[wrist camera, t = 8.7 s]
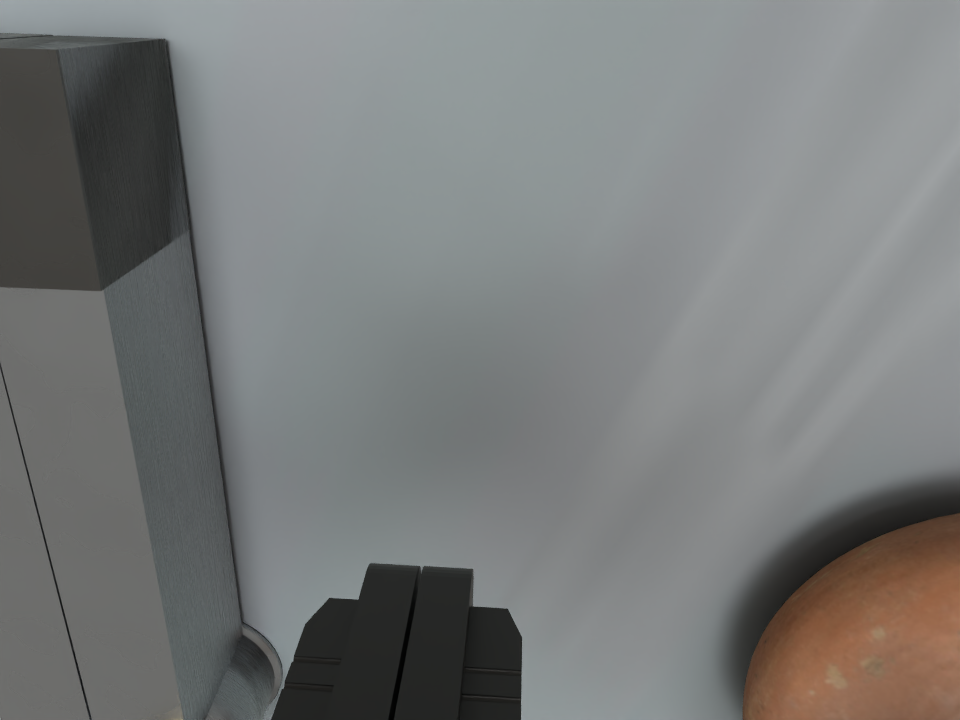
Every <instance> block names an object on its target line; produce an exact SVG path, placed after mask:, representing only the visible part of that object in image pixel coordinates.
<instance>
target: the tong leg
mask: <svg viewBox="0 0 960 720" xmlns="http://www.w3.org/2000/svg"><path fill="white" fill-rule="evenodd" d="M189 230H190V223H189V216H188V208H187V201H186V193H185V186H184V178H183V171H182V163H181V156H180V148H179V140H178V133H177V125H176V118H175V110H174V103H173V95H172V88H171V80H170V73H169V65H168V57H167V50H166V42H165V39H149V38H117V37H85V36H45V37H30V38H14V39H0V363H1V367H2V371H3V375H4V379H5V383H6V386H7V390H8V394H9V398H10V402H11V406H12V410H13V414H14V418H15V422H16V425H17V429H18V433H19V437H20V441H21V445H22V449H23V453H24V457H25V461H26V464H27V468H28V472H29V476H30V480H31V484H32V488H33V492H34V496H35V500H36V503H37V507H38V511H39V515H40V519H41V523H42V527H43V531H44V535H45V539H46V542H47V546H48V550H49V554H50V558H51V562H52V566H53V570H54V574H55V577H56V581H57V585H58V589H59V593H60V597H61V601H62V605H63V609H64V613H65V616H66V620H67V624H68V628H69V632H70V636H71V640H72V644H73V648H74V652H75V655H76V659H77V663H78V667H79V671H80V675H81V679H82V683H83V687H84V691H85V694H86V698H87V702H88V706H89V710H90V714H91V718H92V720H263V717H264V714H265V711H266V709H267V706H268V703H269V700H270V697H271V694H272V692H273V689H274V684H275V675H274V670H273V667H272V665H271V662H270V661H269V659H268V657H267V656H266V654H265V653H264V652H263V651H262V650H261V648H260V647H259V646H258V645H256V644H255V643H254V642H253V641H252V640H250V639H249V638H247V637H246V636H244V635H242V634H243V632H242V625H241V617H240V610H239V602H238V595H237V587H236V580H235V572H234V565H233V557H232V550H231V542H230V535H229V527H228V520H227V512H226V505H225V497H224V490H223V482H222V475H221V467H220V460H219V452H218V445H217V437H216V430H215V422H214V415H213V407H212V400H211V392H210V385H209V377H208V370H207V362H206V355H205V347H204V340H203V332H202V325H201V317H200V310H199V302H198V295H197V287H196V280H195V272H194V265H193V257H192V250H191V242H190V235H189Z"/></svg>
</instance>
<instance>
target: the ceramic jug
mask: <svg viewBox="0 0 960 720" xmlns="http://www.w3.org/2000/svg"><path fill="white" fill-rule="evenodd" d="M743 720H960V513H958V514H953V515H947V516H941V517H937V518H933V519H930V520H926V521H923V522H919V523H916V524H912V525H909V526H906V527H903V528H900V529H897V530H894V531H892V532H889V533H886V534H884V535H881V536H879V537H877V538H875V539H872V540H870V541H868V542H866V543H864V544H862V545H860V546H858V547H856V548H854V549H852V550H851V551H849V552H847V553H845V554H844V555H842V556H840V557H838V558H837V559H835V560H834V561H832V562H831V563H829V564H828V565H826V566H825V567H824V568H822V569H821V570H819V571H818V572H817V573H816V574H815V575H813V576H812V577H811V578H810V579H808V580H807V581H806V582H805V583H804V584H803V585H801V586H800V587H799V588H798V589H797V590H796V591H795V592H794V593H793V594H792V595H791V596H790V597H789V599H788V600H787V601H786V602H785V603H784V604H783V605H782V607H781V608H780V609H779V610H778V611H777V612H776V614H775V615H774V617H773V618H772V619H771V621H770V622H769V624H768V625H767V627H766V629H765V630H764V632H763V634H762V636H761V638H760V640H759V642H758V644H757V646H756V648H755V651H754V653H753V656H752V659H751V662H750V666H749V669H748V673H747V676H746V682H745V689H744V696H743Z"/></svg>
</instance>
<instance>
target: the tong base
mask: <svg viewBox="0 0 960 720" xmlns="http://www.w3.org/2000/svg"><path fill="white" fill-rule="evenodd" d="M45 36H53V35H42V34H13V33H0V39H14V38H30V37H45ZM241 625H242V632H243V634H242V635H244V636H246V637H247V638H249V639H250V640H252V641H253V642H254V643H255V644H256V645H258V646H259V647H260V648H261V650H262V651H263V652H264V653H265V654H266V656H267V657H268V659H269V661H270V662H271V665H272V667H273V670H274V675H275V684H274V689H273V692H272V694H271V697H270V700H269V703H268V705H269V704H270V703H271V702H272V701H273V700H274V698H275V697H276V695H277V693H278V690H279V688H280V685H281V681H282V667H281V662H280V660H279V657H278V655H277V653H276V651H275V649H274V648H273V647H272V645H271V644H270V643H269V642H268V641H267V640H266V639H265V638H264V637H263V636H262V635H261V634H260V633H259V632H257V631H256V630H254V629H253V628H251V627H250V626H248V625H246V624H244V623H242V622H241ZM0 718H1V720H92V718H91V714H90V710H89V706H88V702H87V698H86V694H85V691H84V687H83V683H82V679H81V675H80V671H79V667H78V663H77V659H76V655H75V652H74V648H73V644H72V640H71V636H70V632H69V628H68V624H67V620H66V616H65V613H64V609H63V605H62V601H61V597H60V593H59V589H58V585H57V581H56V577H55V574H54V570H53V566H52V562H51V558H50V554H49V550H48V546H47V542H46V539H45V535H44V531H43V527H42V523H41V519H40V515H39V511H38V507H37V503H36V500H35V496H34V492H33V488H32V484H31V480H30V476H29V472H28V468H27V464H26V461H25V457H24V453H23V449H22V445H21V441H20V437H19V433H18V429H17V425H16V422H15V418H14V414H13V410H12V406H11V402H10V398H9V394H8V390H7V386H6V383H5V379H4V375H3V371H2V367H1V363H0Z"/></svg>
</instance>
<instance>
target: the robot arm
mask: <svg viewBox="0 0 960 720" xmlns="http://www.w3.org/2000/svg"><path fill="white" fill-rule="evenodd" d="M521 671H522V637H521V635H520V633H519V631H518V629H517V627H516V625H515V623H514V621H513V619H512V617H511V615H510V613H509V611H508V609H503V608H487V607H473V569H464V568H447V567H430V566H424V567H423V569H422V574H421V568H420V566H409V565H392V564H375V563H371V564H369V566H368V568H367V571H366V575H365V578H364V582H363V585H362V589H361V592H360V596H359V599H358V600H352V599H336V598H329V599H328V600H327V601H326V602H325V604H324V605H323V606H322V607H321V608H320V609H319V610H318V611H317V612H316V613H315V614H314V615H313V616H312V618H311V619H310V620H309V621H308V622H307V623H306V624H305V627H304V629H303V632H302V635H301V638H300V641H299V643H298V646H297V649H296V652H295V655H294V661H293V662H292V663H291V666H290V669H289V671H288V674H287V677H286V680H285V686H284V689H282V691H281V694H280V697H279V699H278V702H277V705H276V708H275V710H274V713H273V716H272V719H271V720H521Z"/></svg>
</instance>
